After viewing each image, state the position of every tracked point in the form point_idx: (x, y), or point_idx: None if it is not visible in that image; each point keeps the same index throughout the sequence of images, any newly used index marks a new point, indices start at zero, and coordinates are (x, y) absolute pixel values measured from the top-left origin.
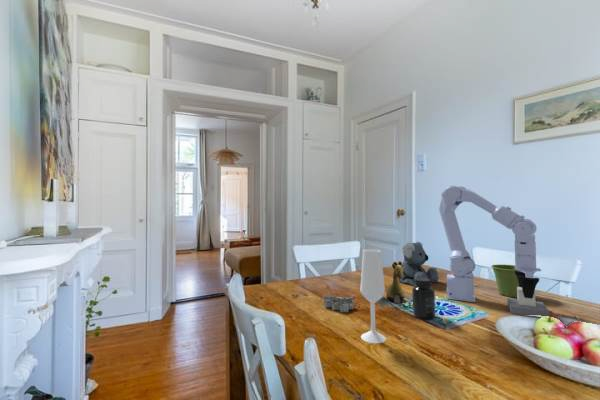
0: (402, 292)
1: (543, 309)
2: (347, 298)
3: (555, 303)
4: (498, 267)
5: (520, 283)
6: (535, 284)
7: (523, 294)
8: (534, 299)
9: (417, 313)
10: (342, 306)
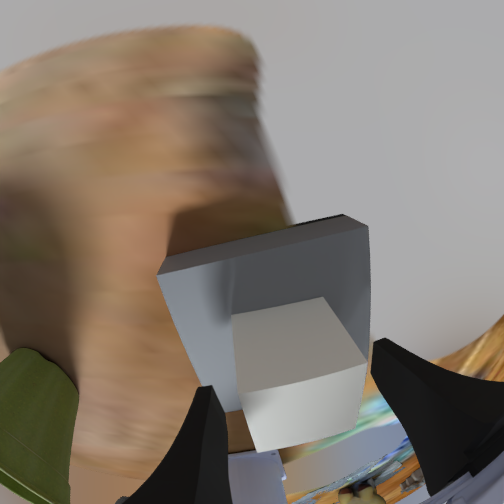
0: (370, 495)
1: (352, 255)
2: (414, 483)
3: (9, 211)
4: (4, 474)
5: (223, 465)
6: (481, 383)
7: (379, 387)
8: (340, 327)
9: None
10: None
